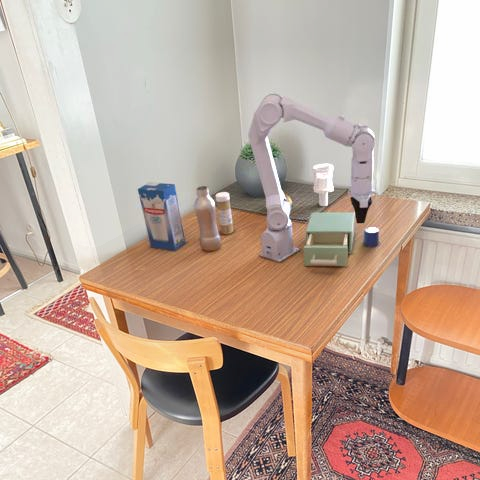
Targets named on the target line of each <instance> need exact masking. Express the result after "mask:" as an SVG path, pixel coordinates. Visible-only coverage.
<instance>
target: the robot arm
mask: <svg viewBox="0 0 480 480" xmlns="http://www.w3.org/2000/svg"><path fill="white" fill-rule="evenodd" d="M281 120H282V123H288V122H290V121H295V120H296V121H298V122H301V123H304V124H306V125H309V126H311V127H313V128H316V129H318V130H320V131H322V132H323V133H324V137H325V138H327V139H329V140H330V141H333V142H336V143H338V144H340V145H342V146H344V147H347V148H348V147H349V148H351V150H352V157H351V161H350V163H351V168H350V171H351V172H350V173H351V174H350V191H349V192H350V193H349V195H350V203H351V205H352V207H353V210H354V212H355V216H354V218H355V221H356V224H365V222H366V219H367V215H368V211H369V209H370V207H371V205H372V204H373V200H372V196H373V195H376V194H377V193H378V192H377V189H376V188H373V182H374V181H373V180H374V178H373V177H374V161H375V160H374V159H375V158H374V149H375V147H376V145H377V143H376V139H375V134H374V132H373V130H372V129H370V127H368V126H367V125H362V124H361V123H357V124H356V123H354V122H352V121H350V120H347V119H346V116H345V115H342V114H340V115H333V116H330V117H328V116H326V115H323V114H322V113H320V112H317V111H315V110H313V109H312V108H310V107H308V106H306V105H304V104H302V103H300V102H298V101H297V100H296V101H295V100H294V99H291V98H289V97H286V96H281V95H280V94H278V93H269V94H267V95H265V97H264V98H263V99H262V101H261V102H260V103H259V105H258V107H257V108H256V110H255V111H254V113H253V117H252V120H251V123H250V127H249V130H248V140H249V141H248V142H249V144H250V147H251V151H252V154H253V159H254V162H255V165H256V169H257V172H258V175H259V179H260V182H261V186H262V189H263V193H264V197H265V208H266V211H267V214H266V224H267V227H266V229H265V230H264V232H263V233H262V234H261V236H260V245H261V253H260V257H262V258H265V259H268V260H272V261H275V262H278V263H281V262H283V261H284V260H286V259H288V258H289V257H291V256H293V255H294V254H296V253H298V252H299V251H300V248H298V247H295V246H294V239H293V222H292V220H291V219H290V214H291V212H292V205H290V203H289V202H288V201H287V200H286V198H285V195H286V194H285V193H284V191H283V190H282V185H281V182H280V179H279V176H278V172H277V167H276V163H275V160H274V157H273V152H272V148H271V145H270V144H271V143H270V140H269V134H270V132H271V130H272V129H273V128H274V127H275V126H277V125H278V124H279V122H280V121H281Z"/></svg>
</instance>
